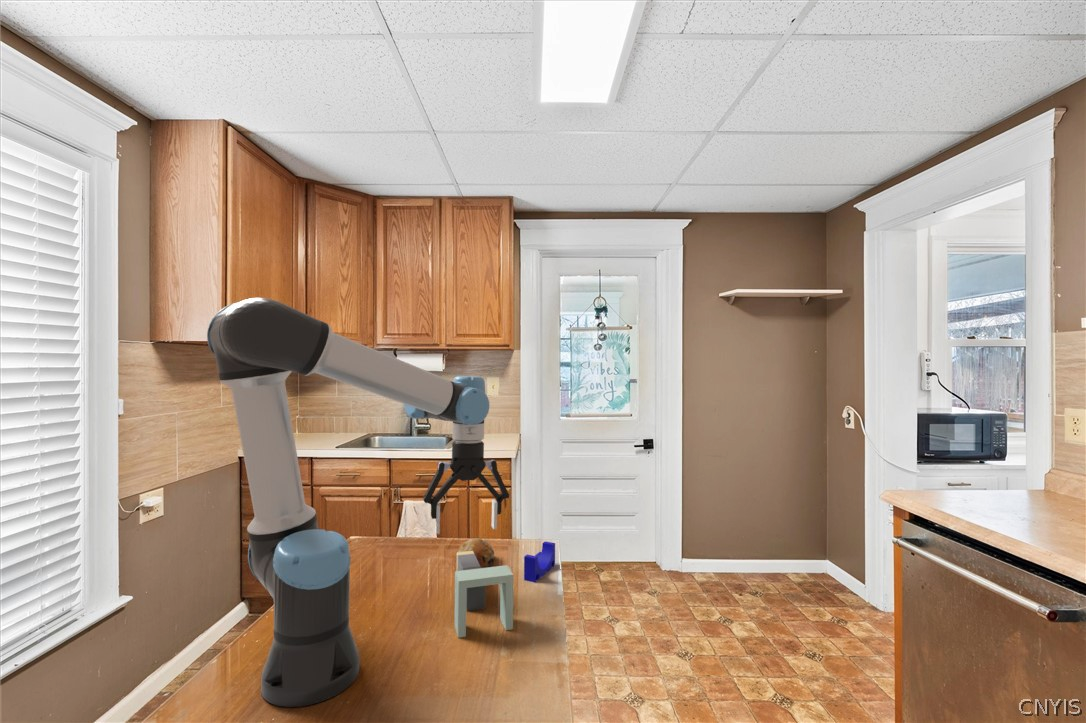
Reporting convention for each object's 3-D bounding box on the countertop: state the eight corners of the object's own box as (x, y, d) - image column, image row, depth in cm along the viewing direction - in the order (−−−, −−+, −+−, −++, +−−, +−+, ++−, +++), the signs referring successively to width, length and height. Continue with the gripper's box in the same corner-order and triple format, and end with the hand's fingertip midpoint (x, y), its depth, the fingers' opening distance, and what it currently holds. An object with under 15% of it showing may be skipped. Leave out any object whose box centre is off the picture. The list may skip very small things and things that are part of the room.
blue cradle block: (539, 562, 139) (539, 540, 139) (555, 565, 137) (555, 543, 137) (518, 579, 128) (518, 555, 128) (535, 583, 126) (535, 558, 126)
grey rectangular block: (466, 611, 111) (467, 578, 111) (456, 581, 126) (456, 552, 126) (485, 608, 112) (485, 576, 112) (472, 579, 128) (472, 550, 128)
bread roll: (484, 567, 144) (477, 538, 146) (504, 561, 137) (497, 531, 140) (453, 577, 137) (446, 546, 140) (474, 571, 130) (466, 539, 133)
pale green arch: (458, 637, 100) (458, 581, 100) (454, 625, 105) (454, 571, 105) (513, 629, 104) (513, 574, 104) (507, 617, 108) (507, 565, 108)
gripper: (415, 444, 116) (413, 539, 116) (522, 441, 124) (520, 530, 123) (413, 439, 123) (411, 529, 123) (514, 437, 131) (512, 521, 131)
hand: (466, 530), depth 123 cm, fingers open, 13 cm apart
